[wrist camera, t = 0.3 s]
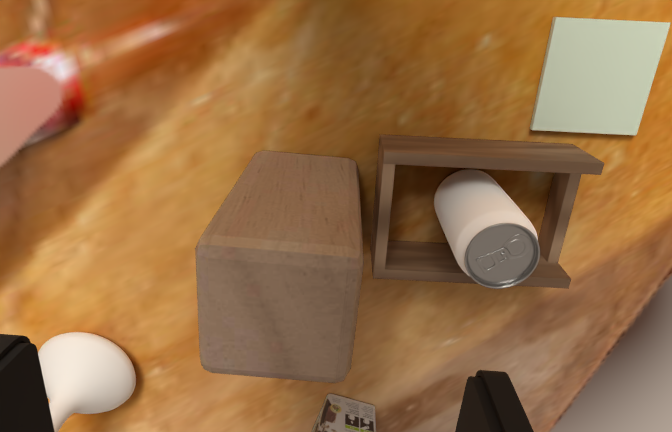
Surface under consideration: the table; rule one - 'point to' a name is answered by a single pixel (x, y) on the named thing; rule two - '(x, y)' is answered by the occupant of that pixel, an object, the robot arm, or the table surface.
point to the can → (486, 229)
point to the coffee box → (345, 416)
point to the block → (283, 270)
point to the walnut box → (481, 154)
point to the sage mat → (597, 75)
